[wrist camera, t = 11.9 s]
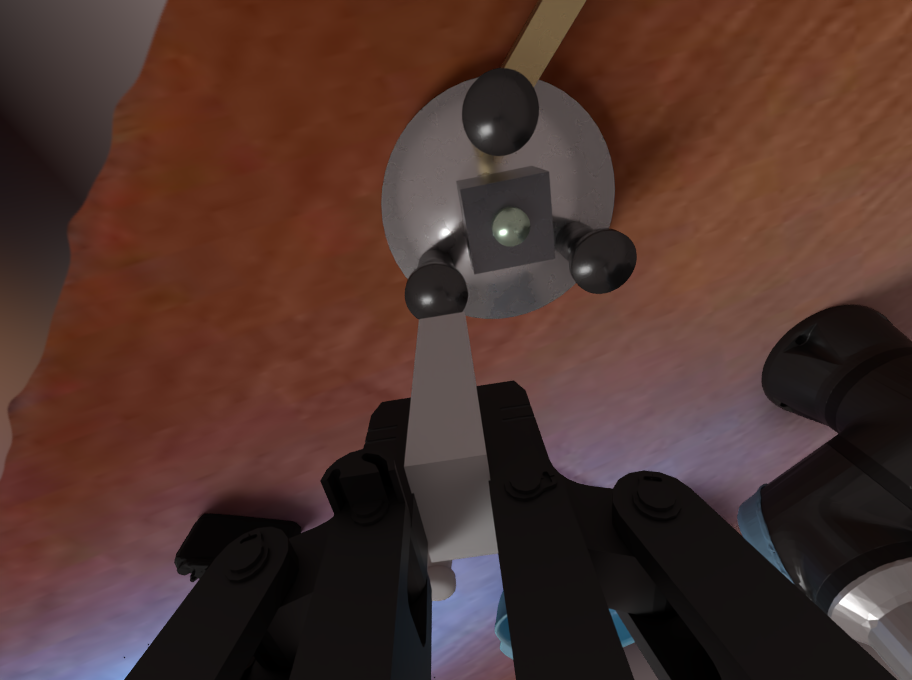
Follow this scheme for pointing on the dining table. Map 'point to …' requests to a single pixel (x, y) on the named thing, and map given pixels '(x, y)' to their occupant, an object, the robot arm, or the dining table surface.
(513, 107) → the brass bar with knob
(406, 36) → the dining table surface
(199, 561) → the film camera
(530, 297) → the levelling base
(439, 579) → the salt shaker
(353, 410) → the dining table surface
